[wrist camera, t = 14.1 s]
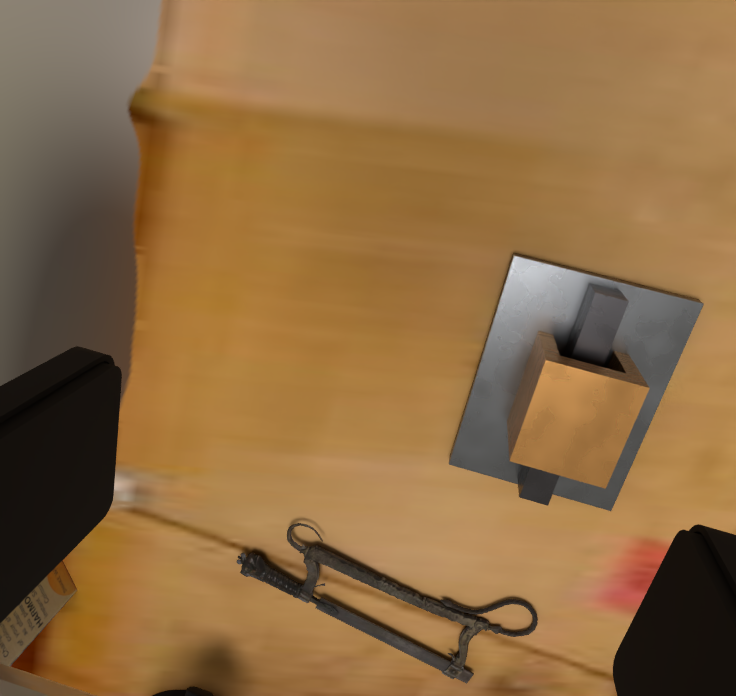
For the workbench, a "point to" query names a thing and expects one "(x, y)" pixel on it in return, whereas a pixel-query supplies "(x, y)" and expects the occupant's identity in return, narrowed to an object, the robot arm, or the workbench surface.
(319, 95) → the workbench surface
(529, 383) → the tan wooden block
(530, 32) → the workbench surface
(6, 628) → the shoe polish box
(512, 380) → the rail
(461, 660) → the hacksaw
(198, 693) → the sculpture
